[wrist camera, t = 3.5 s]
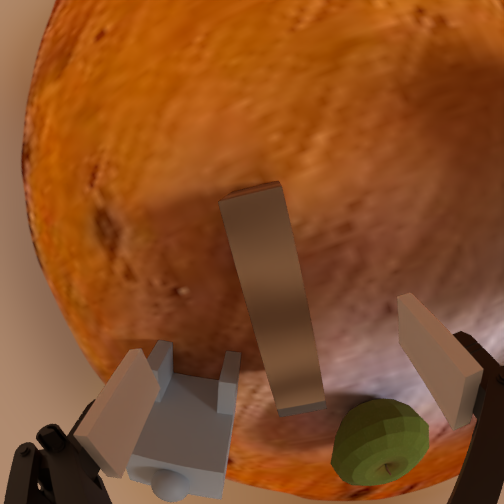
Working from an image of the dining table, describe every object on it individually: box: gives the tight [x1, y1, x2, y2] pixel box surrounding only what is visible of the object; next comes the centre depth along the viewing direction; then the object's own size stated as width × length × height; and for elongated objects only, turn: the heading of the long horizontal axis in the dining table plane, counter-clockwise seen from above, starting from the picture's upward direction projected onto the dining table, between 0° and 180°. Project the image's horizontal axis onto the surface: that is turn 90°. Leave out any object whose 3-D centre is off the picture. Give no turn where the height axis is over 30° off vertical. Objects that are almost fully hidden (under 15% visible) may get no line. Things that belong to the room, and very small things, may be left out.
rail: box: [218, 181, 327, 417], centre depth 25 cm, size 18×4×7 cm, turn 14°
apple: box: [331, 399, 429, 486], centre depth 27 cm, size 11×10×10 cm
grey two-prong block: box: [126, 340, 241, 502], centre depth 24 cm, size 9×8×14 cm
